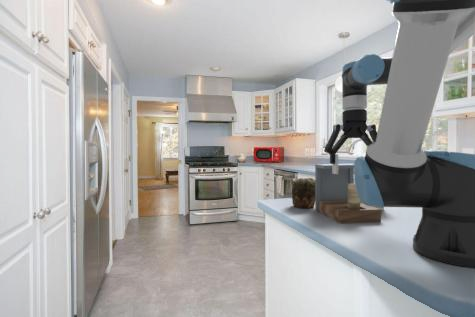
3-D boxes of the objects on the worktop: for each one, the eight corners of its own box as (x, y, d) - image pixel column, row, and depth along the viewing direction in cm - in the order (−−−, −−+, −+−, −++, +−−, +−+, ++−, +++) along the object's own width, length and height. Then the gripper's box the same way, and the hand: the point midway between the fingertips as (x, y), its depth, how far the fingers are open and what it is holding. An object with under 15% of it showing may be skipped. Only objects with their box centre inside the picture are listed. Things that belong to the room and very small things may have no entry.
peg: (362, 220, 90) (362, 184, 89) (351, 221, 89) (351, 185, 89) (356, 217, 94) (356, 183, 93) (345, 217, 93) (345, 183, 93)
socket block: (380, 221, 88) (380, 209, 88) (340, 223, 87) (340, 211, 86) (353, 209, 105) (353, 199, 105) (318, 211, 103) (318, 200, 103)
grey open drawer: (363, 213, 99) (363, 164, 98) (324, 215, 97) (324, 165, 97) (351, 208, 107) (351, 163, 106) (315, 210, 105) (315, 164, 105)
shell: (322, 209, 107) (322, 179, 106) (294, 209, 107) (294, 179, 106) (314, 203, 117) (314, 176, 117) (289, 203, 118) (289, 176, 117)
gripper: (382, 112, 95) (382, 172, 95) (314, 111, 92) (314, 173, 93) (396, 108, 88) (396, 173, 88) (323, 107, 85) (323, 175, 85)
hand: (354, 173), depth 90 cm, fingers open, 13 cm apart
